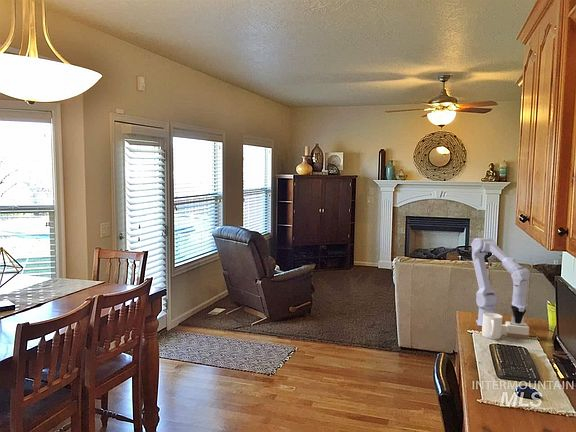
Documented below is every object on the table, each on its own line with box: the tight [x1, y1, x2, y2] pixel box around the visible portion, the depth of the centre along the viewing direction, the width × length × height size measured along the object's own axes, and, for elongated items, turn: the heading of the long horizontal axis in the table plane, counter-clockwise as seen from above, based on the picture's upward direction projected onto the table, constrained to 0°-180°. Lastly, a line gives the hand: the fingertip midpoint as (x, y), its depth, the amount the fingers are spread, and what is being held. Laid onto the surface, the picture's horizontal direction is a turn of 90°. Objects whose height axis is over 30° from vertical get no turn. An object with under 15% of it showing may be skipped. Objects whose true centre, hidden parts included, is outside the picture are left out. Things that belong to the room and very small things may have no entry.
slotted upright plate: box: [501, 320, 530, 340], centre depth 224 cm, size 7×18×6 cm, turn 74°
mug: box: [481, 312, 503, 340], centre depth 219 cm, size 12×8×10 cm
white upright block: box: [510, 314, 525, 326], centre depth 223 cm, size 2×5×7 cm, turn 75°
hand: (517, 322), depth 223 cm, fingers closed on white upright block, 2 cm apart
